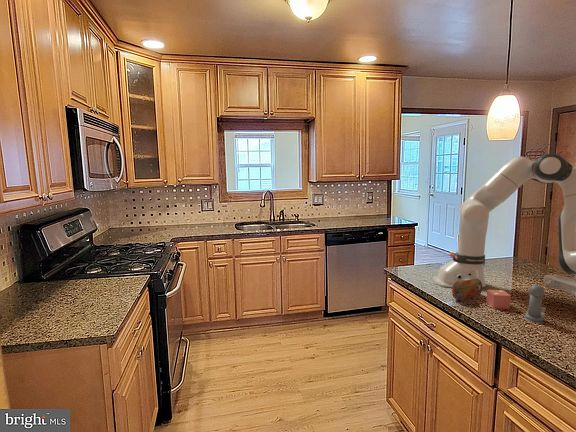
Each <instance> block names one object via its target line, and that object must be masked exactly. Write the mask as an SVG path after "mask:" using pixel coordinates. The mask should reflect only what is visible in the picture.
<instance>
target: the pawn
mask: <svg viewBox="0 0 576 432" xmlns="http://www.w3.org/2000/svg"><path fill="white" fill-rule="evenodd" d="M528 292H529V300H528V302H529V303H528V307H529V310H528V309H527V310H528V313H527V312H526V313H525V314H524V315H525V316H524V318H526V319H528V320H527V321H529V320H530V322H533V321H534V322H533V323H537V322H542V321H543V322H544V318H543V316H541V307H543V306H542V305H543V296H544V295H545V289H544V287H543V286H541V285H539V284H533V285H531V286H530V287H529V289H528Z"/></svg>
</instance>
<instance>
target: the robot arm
mask: <svg viewBox="0 0 576 432" xmlns="http://www.w3.org/2000/svg"><path fill="white" fill-rule="evenodd" d="M528 180H532V181H535V182H538V183H540V184H547V185H549V184H554V183H556V184H558V185H559V187H560V189H561V190H562V195H563V200H564V203H563V209H562V211H561V212H559V215H558V225H557V226H558V244H559V245H558V247H559V249H558V257H557V263H558V265H559V267H560V269H561V270H563V272H565V273H566V274H568V275H575V276H574V277H567V276H565V275H560V274H546V275H543V285H544V287H545V288H549V289H550V288H553V289H557V290H561V291H562V292H566V293H569V294H571V296H572V297H575V298H576V166H575V167H573V165H572V164H571V163H570V162H568V161H567V159H565V157H563V156H561V155H560V154H556V153H545V154H542V155H541V156H539V157H538V158H537V159H536V160H531V159H529V158H528V157H525V156H521V155H520V156H514V157H513V158H511V159H510V160H509V161H507V162H506V163H505V164H504V165H502V166H501V167H500V168H499V169H498V170H496V172H495V173H494V174H493V175H492V176H491V177H489V179H488V180H487V181H486V182H485V183H483V185H481V186H480V187H479V188H478V189H477V190H476V191H475V192H473V193H472V194H471V195H470V196H469V197H467V199H466V200H464V201H463V202H462V204H461V205H460V206H459V207H460V208H459V215H460V220H459V230H458V241H457V252H453V251H450V252H449V256H450V257H451V258H452V260H450V261H449V262H447V263H445V264H444V265H442V266H440V268H439V270H438V273H437V274H438V275H434V276H432V280H433V282H434V283H435V284H436V285H438V286H440V287H443V288H452V287H453V285H454V283H455V282H456V281H458V280H463V279H467V278H476V279H479V280H480V281H481V283H482V288H485V287H486V286H487V283H486V278H485V264H486V255H485V248H486V238H487V237H486V236H487V232H488V226H489V219H490V218H489V217H490V213H491V212H492V211H493V210H494V209H496V208H497V207H499V206H500V205H501V204H503V203H504V202H505V201H507V199H509V198H510V197H511V196H512V195H513V194H514V193H515V192H516V191H517V190H518V189H519V188H520V187H521V186H523V184H525V183H526V182H527V181H528Z"/></svg>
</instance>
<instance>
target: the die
mask: <svg viewBox="0 0 576 432" xmlns="http://www.w3.org/2000/svg"><path fill="white" fill-rule="evenodd" d="M486 291H487V292H486V301H485V302H486V303H487V304H488V305H489V306H490V307H491V308H492V309H505V310H510V309H511V302H512V301H511V299H512V296H511V294H509V293H508V291H505V290H504V289H486Z"/></svg>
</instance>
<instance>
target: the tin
mask: <svg viewBox="0 0 576 432" xmlns="http://www.w3.org/2000/svg"><path fill="white" fill-rule="evenodd" d="M451 288H452V289H451V290H452V291H451V293H452V297H453V298H454V299H455V300H458V301H460V302H465V301H466V302H467V301H470V300H474V298H473V297H476V296H480V295H481V294H482V292H483V291H482V290H483V287H482V283H481V281H480V280H479V279H476V278H467V279H463V280H458V281H456V282H455V283H454V285H453V287H451Z"/></svg>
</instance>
